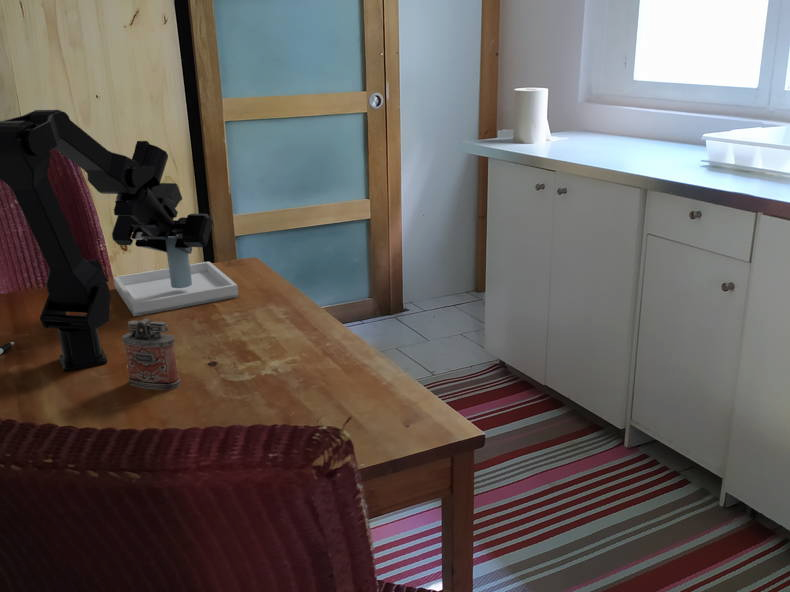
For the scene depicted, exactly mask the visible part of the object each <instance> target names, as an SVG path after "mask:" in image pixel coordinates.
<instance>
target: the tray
mask: <svg viewBox="0 0 790 592" xmlns="http://www.w3.org/2000/svg"><path fill="white" fill-rule="evenodd" d="M190 272H191V280H192V285H191V286H189V287H185V288H173V287H171V280H170V273H169V267H167V268H161V269H155V270H148V271H143V272H137V273H132V274H131V273H129V274H124V275H118V276H114V277H113V282H114V288H115V290H116V292H117V294H118V295H119V296H120V297H121V299H122V300H123V302H124V303H125V306H126V307H127V309H128V310H129V311H130V313H131V314H132V316H133V318H134V317H139V316H145V315H151V314H155V313H156V314H157V313H162V312H167V311H171V310H177V309H183V308H188V307H192V306H200V305H204V304H209V303H215V302H220V301H225V300H229V299H236V298H239V297H240V296H239V286H238V284H237V283H235V282H234V280H232V279H231V278H230V277H228V276H227V275H226V274H225V272H222V270H220V268H218V267H217V266H215V265H214V264H213V263H212V262H211V261H203V262H198V263H190Z"/></svg>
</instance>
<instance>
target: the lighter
mask: <svg viewBox="0 0 790 592" xmlns="http://www.w3.org/2000/svg"><path fill="white" fill-rule="evenodd" d="M127 323H128V325H127V326H128V329H129V331H130V332H127V333H126V334H124V335H122V337H121V338H122V339H121V340H122V342H123V343H124V347H125V354H126V360H127V366H128V367H127V369H128V374H129V377H128V382H129V385H130V386H133V387H136V388H140V389H148V390H157V391H160V390H162V391H164V390H165V391H166V390H167V391H172V390H174V389H178V388H179V387H180V386H181V381H180V377H179V374H178V367H177V366H178V365H177V359H176V353H175V336H173V335H170V334H166V333H167V332H168V331H169V327H168V323H166V322H165V321H155V320H153V321H151V319H150V318H146V317H145V318H143V319H142V320H130V321H128V322H127Z"/></svg>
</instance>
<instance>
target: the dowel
mask: <svg viewBox="0 0 790 592" xmlns="http://www.w3.org/2000/svg"><path fill="white" fill-rule="evenodd" d="M177 237H178V236H176V237H168V239H167V240H165V242H166V250H167V253H166V255H167V264H168V268H169V273H170V280H171V287H173V288H185V287H189V286H191V285H192V280H191V272H190V265H191V263H190V257H189V254H188V253H186V252H183V251H181V250H179V249H177V248H175V244H176V241H177Z"/></svg>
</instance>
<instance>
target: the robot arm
mask: <svg viewBox="0 0 790 592" xmlns="http://www.w3.org/2000/svg"><path fill="white" fill-rule="evenodd" d="M53 149H54V150H56V151H57V152H59V153H60V154H61V155H63V156H64V157H65V158H66V159H68V160H70V161H71V162H72V163H74V164H75V165H77V166H78V167H79V168H80V169H82V170H84V172H85V173H86V175H87V176H86V177H87V181H88V182H89V184H90V185H91V186H93V188H94V189H95V190H96V191H97V192H98V193H100V194H102V195H107V194H108V195H116V198H115V203H114V204H115V205H114V208H113V214H114V216H117V217H116V221H115V224H114V226H113V229H112V232H111V238H112V240H113V241H114V242H115V243H116V244H117V245H118V246H132V244H133V243H134V241H135V246H136V247H137V248H145V249H149V250H154V251H158V252H163V253H166V254H167V250H166V242H165V240H167V239H168V237H176V236H178V237H177V241H176V244H175V248H177V249H179V250H181V251H183V252H186V253H188V255H191V254H192V251H193V248H204V247H206V246H207V245H208V242H209V238H210V234H211V231H212V227H213V224H214V220H213V219H212V218H211V216H209V214H208V213H190V214H188V215H187V217H183V216H181V217H180V218H178V219H175V220H174V218H177V217H178V214H179V213H178V210H177V207H178V204H180V202H181V201H182V200H183V196H182V193H181V191H180V188H179V186H178V184H177V183H176V182H161V181H162V177H163V175H164V172H165V169H166V167H167V166H166V165H167V163H168V159H169V155H168V153H167V151H166V150H163V149H162V148H161V147H158V145H154V144H150V142H149V141H148V140H137V141H136V143H135V146H134V152H133V155H132V158H131V157H129V156H126V155H122V154H120V153H116V152H112V151H110V150H108V149H107V148H106V147H105V146H103V145H102V144H101V143H99V142H98V141H97V140H95V139H94V138H93V137H92V136H91V135H90V134H89V133H87V132H86V131H84V130H83V128H81V127H79V126H78V125H77V124H76V123H74V121H72V119H71V118H70V117H69V115H68V114H67V113H66V112H65V111H62V110H60V109H34V110H33V111H30V112H28V113H25V114H24V115H20V116H17V117H12V118H9V119H4V120H0V180H1V181H2V182H3V183H5V184H6V185H8V187H10V189H11V190H12V193H13V194H14V196H15V199H16V201H17V203H18V205H19V207H20V209H21V211H22V213H23V215H24V218H25V220H26V221H27V223H28V226H29V228H30V230H31V232H32V235H33V236H34V239H35V241H36V243H37V245H38V247H39V250H40V252H41V253H42V256H43V258H44V260H45V263H46V264H47V267H48V269H49V271H48V276H47V278H46V284H45V286H46V290H47V293H48V295H47V298H46V301H45V304H44V305H43V309H42V311H41V314H40V316H39V319H40V322H41V324H42V325H43V328H44V329H57V332H58V338H59V342H60V343H59V344H60V348H61V353H62V354H60V355H58V357H59V361H60V365H61V366H62V369H63V371H64V372H69V371H74V370H78V369H83V368H87V367H88V368H89V367H93V366H98V365H101V364H103V365H104V364H107V363H108V358H107V356H106V353H105V352H104V350H103V348H102V347H101V341H100V335H99V331H98V330H99V329H98V328H100V327H101V326H103V325H105V324H106V323H108V322H109V321H110V307H111V305H110V303H111V292H110V291H111V290H110V288H109V285H108V282H109V278H107V276H106V275H105V273H104V272H105V271H104V269H103V266H102V263H100V261H99V260H96V259H95V260H94V259H85V257H83V256H82V254H81V251H80V249H79V246H78V244H77V241H76V239H75V237H74V235H73V233H72V230H71V228H70V226H69V223H68V221H67V219H66V217H65V214H64V212H63V210H62V207H61V205H60V203H59V200H58V198H57V195H56V194H55V191H54V189H53V186H52V184H51V182H50V180H49V179H50V178H48V177H49V176H48V171H49V168H50V163H51V158H52V156H51V152H50V151H51V150H53ZM67 313H78V314H79V313H80V314H86V315H77V314H76V315H75V314H67Z"/></svg>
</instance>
